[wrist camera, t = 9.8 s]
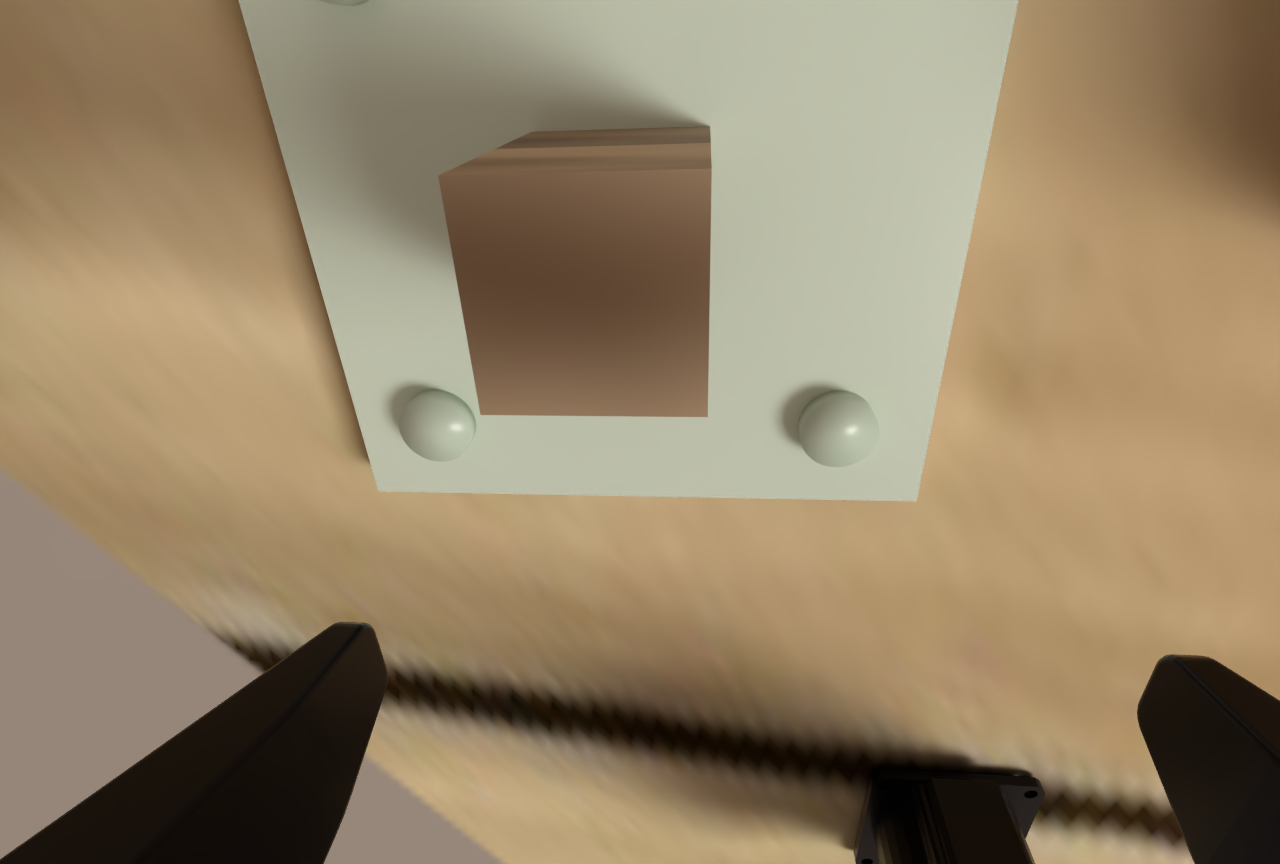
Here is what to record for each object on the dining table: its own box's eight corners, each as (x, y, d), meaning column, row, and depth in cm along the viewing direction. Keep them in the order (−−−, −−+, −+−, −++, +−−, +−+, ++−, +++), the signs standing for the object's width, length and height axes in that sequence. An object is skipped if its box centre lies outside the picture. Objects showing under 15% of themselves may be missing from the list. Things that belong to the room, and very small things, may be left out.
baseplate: (905, 477, 20) (922, 513, 18) (394, 470, 21) (369, 502, 20) (1045, -259, 12) (1095, -305, 10) (218, -188, 14) (156, -219, 12)
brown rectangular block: (707, 301, 17) (707, 417, 11) (550, 303, 17) (480, 415, 12) (710, 125, 15) (711, 168, 9) (531, 131, 15) (437, 175, 10)
